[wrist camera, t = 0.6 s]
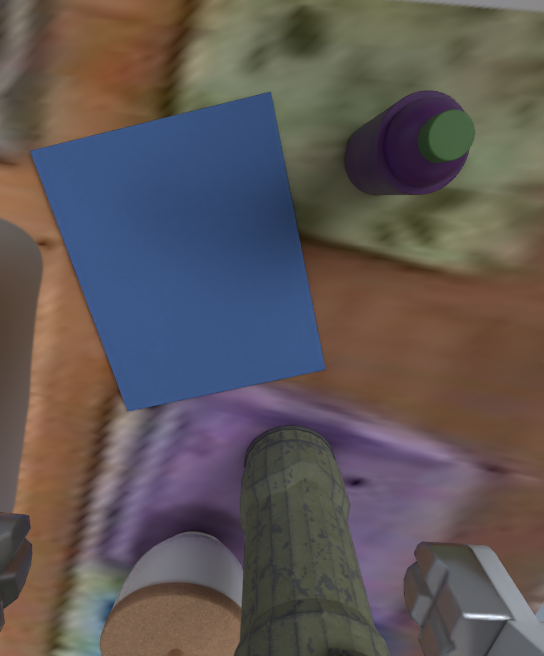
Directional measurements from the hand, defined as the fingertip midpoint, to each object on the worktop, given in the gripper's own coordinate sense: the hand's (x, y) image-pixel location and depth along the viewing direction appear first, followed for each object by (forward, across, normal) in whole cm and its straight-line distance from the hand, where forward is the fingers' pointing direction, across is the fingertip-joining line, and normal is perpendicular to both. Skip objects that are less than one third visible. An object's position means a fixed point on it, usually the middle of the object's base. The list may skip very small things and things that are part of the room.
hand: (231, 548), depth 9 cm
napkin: (+26, +4, +2) cm, 27 cm away
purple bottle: (+26, -9, -9) cm, 29 cm away
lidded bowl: (+24, 0, +31) cm, 40 cm away
